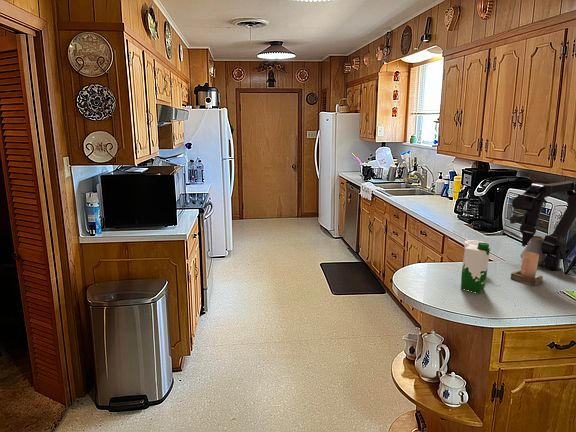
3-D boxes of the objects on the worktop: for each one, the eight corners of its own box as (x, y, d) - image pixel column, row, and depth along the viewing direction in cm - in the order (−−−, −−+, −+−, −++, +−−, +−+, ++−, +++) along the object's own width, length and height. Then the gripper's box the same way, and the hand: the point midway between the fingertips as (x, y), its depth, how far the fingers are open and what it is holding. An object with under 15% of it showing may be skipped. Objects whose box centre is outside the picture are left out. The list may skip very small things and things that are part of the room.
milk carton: (480, 295, 172) (486, 247, 168) (457, 289, 178) (463, 243, 173) (486, 289, 179) (493, 242, 174) (464, 283, 185) (469, 238, 180)
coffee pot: (546, 261, 215) (551, 232, 211) (546, 268, 205) (551, 237, 201) (498, 253, 225) (502, 225, 222) (496, 259, 215) (500, 230, 212)
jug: (523, 276, 194) (527, 250, 191) (537, 280, 189) (541, 254, 186) (514, 280, 189) (518, 254, 186) (528, 284, 184) (532, 258, 181)
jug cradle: (518, 274, 195) (519, 269, 195) (542, 281, 188) (542, 276, 187) (510, 278, 191) (511, 273, 190) (534, 285, 183) (535, 280, 183)
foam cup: (470, 274, 195) (473, 246, 192) (457, 267, 204) (460, 240, 201) (488, 272, 198) (491, 245, 195) (474, 265, 206) (477, 239, 203)
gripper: (514, 206, 205) (505, 237, 208) (511, 208, 189) (502, 242, 192) (541, 211, 200) (531, 244, 203) (540, 214, 184) (530, 249, 187)
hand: (523, 245), depth 196 cm, fingers open, 9 cm apart
